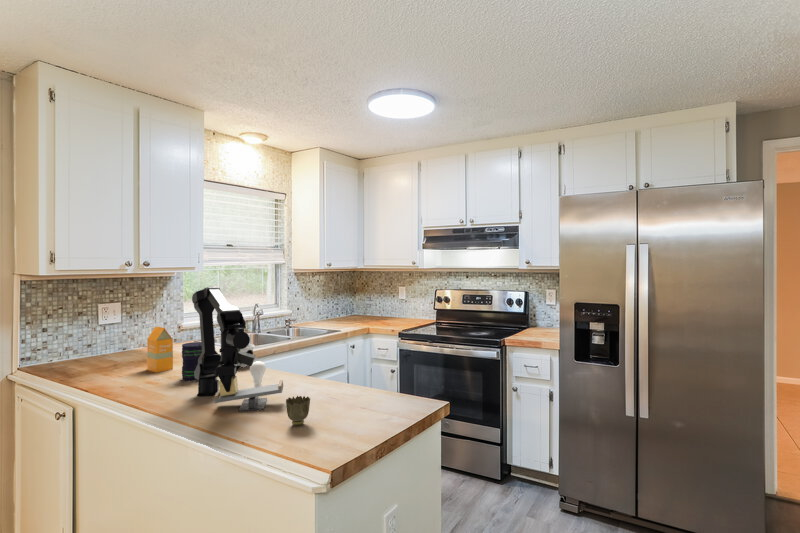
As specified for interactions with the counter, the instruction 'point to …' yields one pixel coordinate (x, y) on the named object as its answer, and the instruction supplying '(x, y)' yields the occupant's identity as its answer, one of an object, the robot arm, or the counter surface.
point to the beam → (250, 392)
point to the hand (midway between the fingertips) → (229, 389)
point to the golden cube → (232, 390)
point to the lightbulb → (257, 372)
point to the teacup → (250, 346)
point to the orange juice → (159, 350)
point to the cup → (297, 409)
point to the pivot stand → (253, 404)
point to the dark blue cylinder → (190, 360)
